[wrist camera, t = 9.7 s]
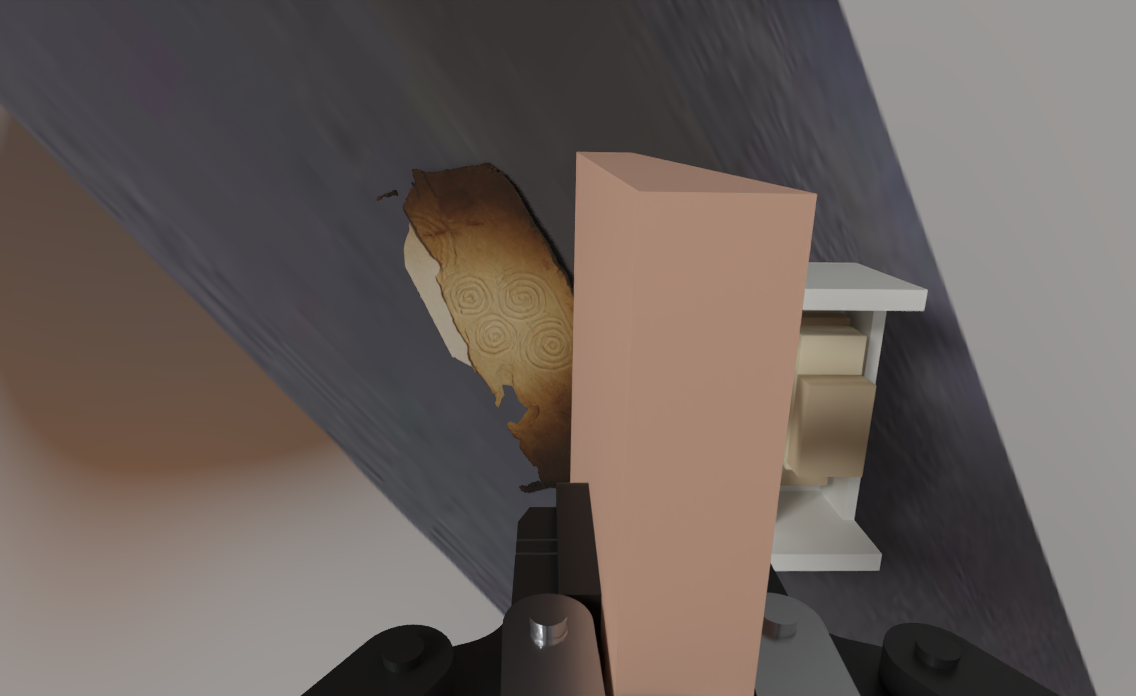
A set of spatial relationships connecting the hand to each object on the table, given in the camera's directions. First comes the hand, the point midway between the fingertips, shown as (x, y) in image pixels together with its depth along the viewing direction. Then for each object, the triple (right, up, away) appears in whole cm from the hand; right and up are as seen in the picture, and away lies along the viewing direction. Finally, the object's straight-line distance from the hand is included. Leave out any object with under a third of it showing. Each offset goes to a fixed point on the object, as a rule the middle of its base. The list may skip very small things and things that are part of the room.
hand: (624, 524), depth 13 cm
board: (0, +3, +8) cm, 8 cm away
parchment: (-5, +5, +33) cm, 34 cm away
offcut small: (+15, -1, +29) cm, 33 cm away
